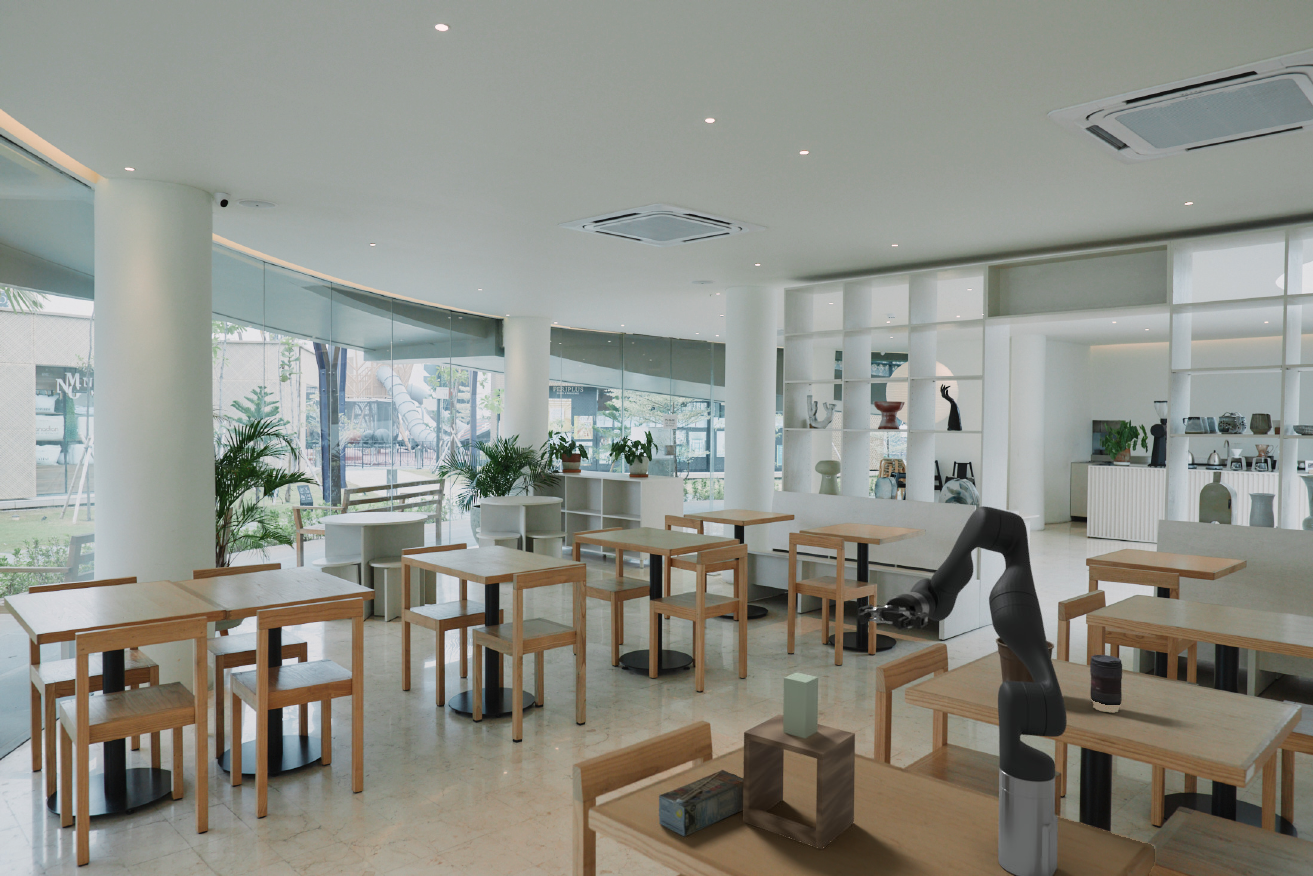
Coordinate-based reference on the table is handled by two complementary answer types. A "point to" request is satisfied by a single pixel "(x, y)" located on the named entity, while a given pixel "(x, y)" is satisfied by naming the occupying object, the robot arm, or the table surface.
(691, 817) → the beverage carton
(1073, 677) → the table surface
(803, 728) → the sage block
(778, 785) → the walnut box
